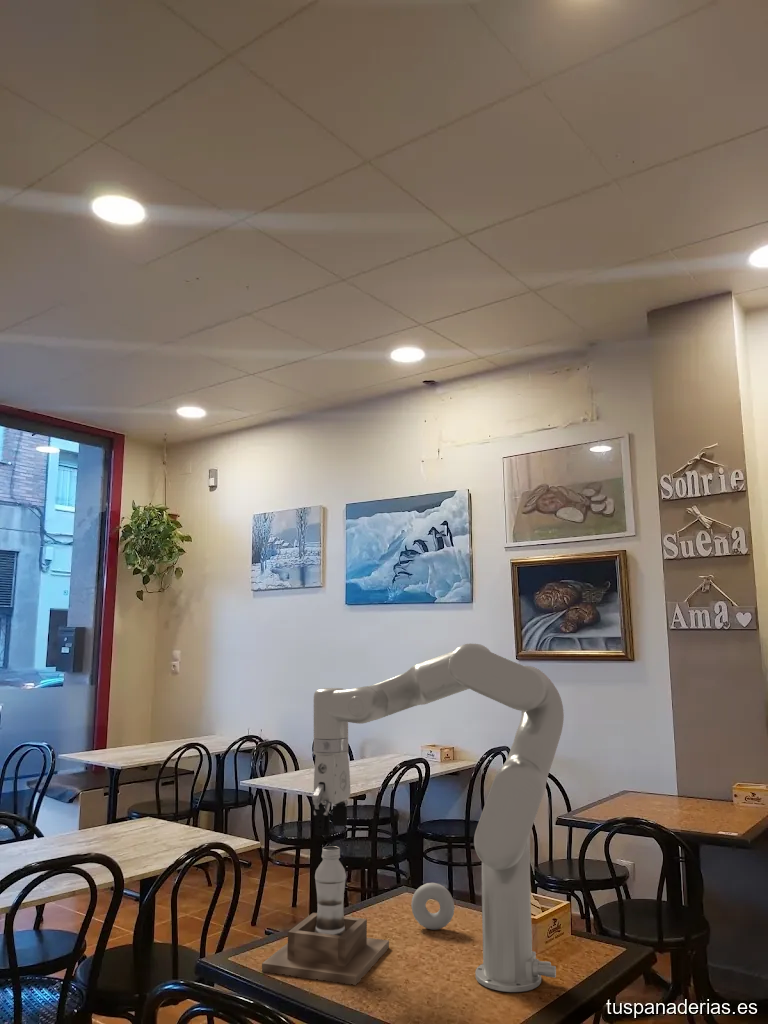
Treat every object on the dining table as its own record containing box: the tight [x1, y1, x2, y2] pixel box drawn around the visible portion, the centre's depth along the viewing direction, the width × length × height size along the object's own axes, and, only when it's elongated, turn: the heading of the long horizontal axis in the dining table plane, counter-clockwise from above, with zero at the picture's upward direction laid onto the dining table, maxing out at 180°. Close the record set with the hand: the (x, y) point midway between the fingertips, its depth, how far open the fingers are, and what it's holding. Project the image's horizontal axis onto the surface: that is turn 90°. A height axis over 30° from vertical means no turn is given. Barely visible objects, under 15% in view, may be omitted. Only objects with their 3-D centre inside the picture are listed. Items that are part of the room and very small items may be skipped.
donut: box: [410, 882, 455, 931], centre depth 177 cm, size 10×4×10 cm, turn 80°
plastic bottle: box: [314, 845, 347, 936], centre depth 161 cm, size 6×7×20 cm
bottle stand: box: [261, 912, 390, 986], centre depth 160 cm, size 20×20×6 cm
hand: (331, 830), depth 163 cm, fingers open, 9 cm apart
